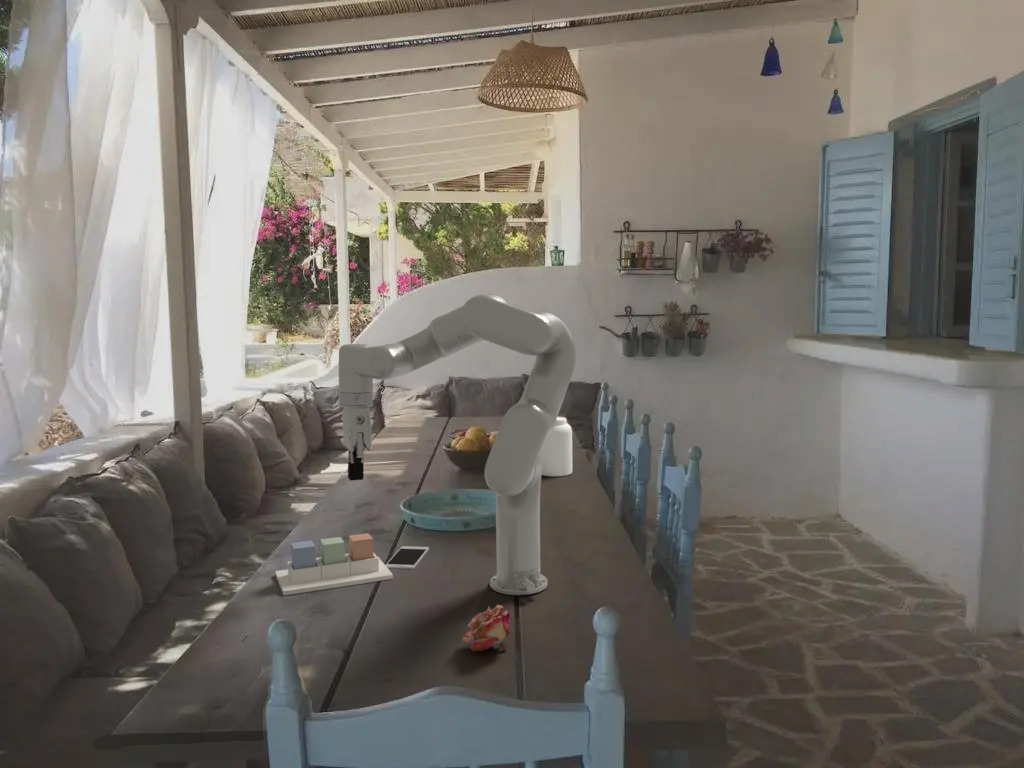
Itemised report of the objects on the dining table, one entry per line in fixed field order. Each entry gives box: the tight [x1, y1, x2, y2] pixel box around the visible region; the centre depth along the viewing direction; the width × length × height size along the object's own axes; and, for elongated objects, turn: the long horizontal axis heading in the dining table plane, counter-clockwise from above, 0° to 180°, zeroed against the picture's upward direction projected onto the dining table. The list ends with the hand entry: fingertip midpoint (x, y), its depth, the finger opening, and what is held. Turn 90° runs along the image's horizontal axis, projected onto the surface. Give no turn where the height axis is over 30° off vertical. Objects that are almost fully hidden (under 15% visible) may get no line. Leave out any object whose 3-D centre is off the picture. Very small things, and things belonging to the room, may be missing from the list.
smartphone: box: [385, 545, 430, 570], centre depth 198 cm, size 7×16×1 cm, turn 172°
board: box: [274, 551, 394, 596], centre depth 185 cm, size 14×24×4 cm, turn 113°
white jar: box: [539, 415, 573, 478], centre depth 287 cm, size 12×12×20 cm
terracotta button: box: [348, 532, 374, 561], centre depth 187 cm, size 5×5×5 cm
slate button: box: [290, 540, 317, 569], centre depth 182 cm, size 5×5×5 cm
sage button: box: [319, 536, 346, 565], centre depth 184 cm, size 5×5×5 cm
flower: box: [462, 604, 512, 653], centre depth 146 cm, size 10×9×8 cm
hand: (355, 479), depth 184 cm, fingers closed
